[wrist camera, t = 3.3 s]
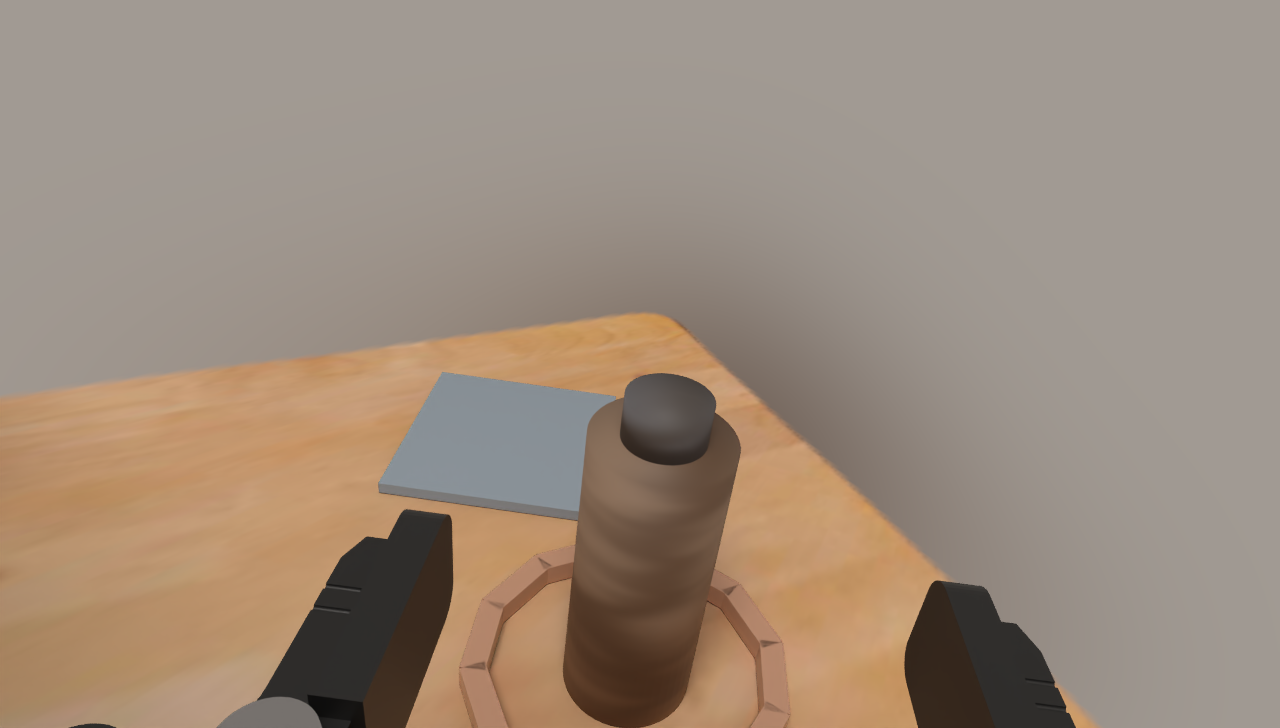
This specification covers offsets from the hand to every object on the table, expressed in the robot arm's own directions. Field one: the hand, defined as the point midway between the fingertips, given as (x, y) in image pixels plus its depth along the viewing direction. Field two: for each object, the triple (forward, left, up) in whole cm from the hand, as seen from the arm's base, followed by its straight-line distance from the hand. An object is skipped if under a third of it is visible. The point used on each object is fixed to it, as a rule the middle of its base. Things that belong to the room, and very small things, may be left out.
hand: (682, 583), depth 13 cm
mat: (-8, +26, -18) cm, 32 cm away
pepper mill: (0, +12, -18) cm, 21 cm away
